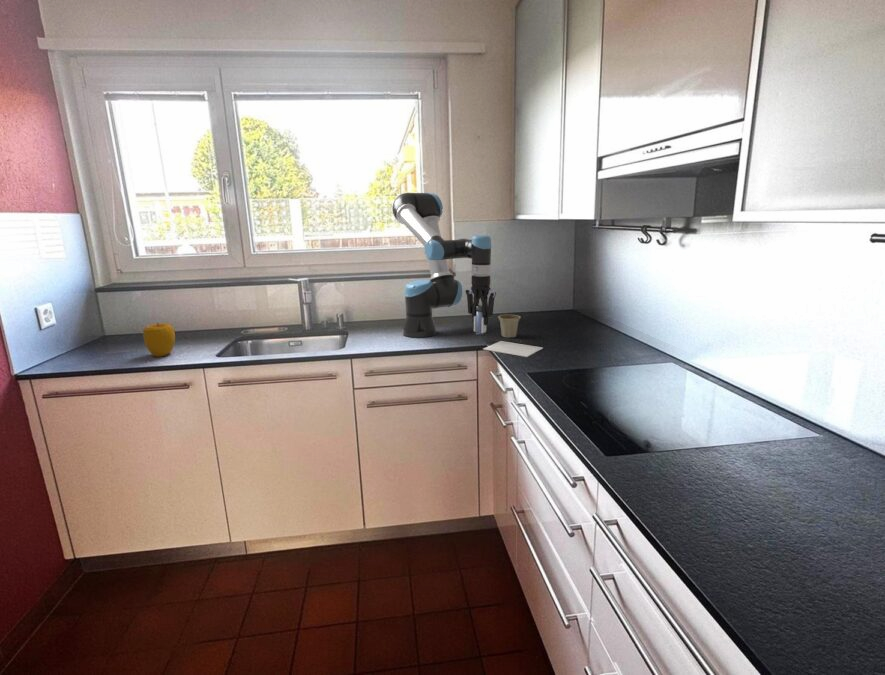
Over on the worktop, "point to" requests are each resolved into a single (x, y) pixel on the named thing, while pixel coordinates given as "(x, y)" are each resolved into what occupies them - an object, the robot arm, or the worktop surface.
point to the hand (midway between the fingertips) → (479, 331)
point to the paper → (513, 348)
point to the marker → (479, 319)
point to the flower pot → (509, 325)
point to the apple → (159, 339)
